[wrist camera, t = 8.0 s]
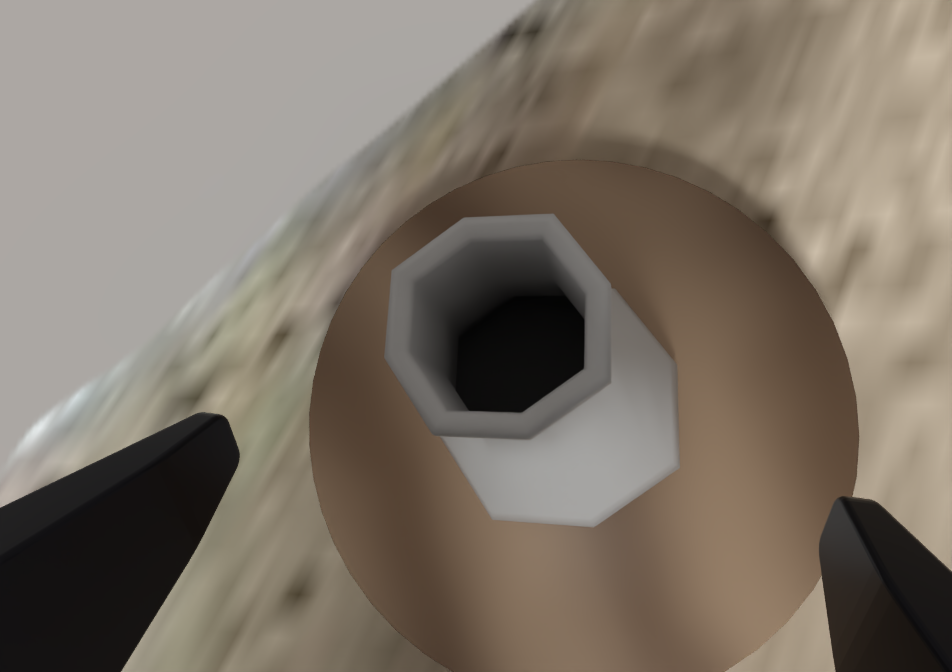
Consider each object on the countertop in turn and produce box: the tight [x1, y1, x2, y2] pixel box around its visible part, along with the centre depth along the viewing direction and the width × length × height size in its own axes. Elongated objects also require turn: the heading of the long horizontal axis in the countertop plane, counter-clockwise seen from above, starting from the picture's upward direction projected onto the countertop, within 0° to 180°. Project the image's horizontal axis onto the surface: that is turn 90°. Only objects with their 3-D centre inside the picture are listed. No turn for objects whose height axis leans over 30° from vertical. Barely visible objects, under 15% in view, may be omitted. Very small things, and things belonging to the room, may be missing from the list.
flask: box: [384, 214, 680, 527], centre depth 12 cm, size 7×7×10 cm
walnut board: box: [309, 160, 859, 672], centre depth 18 cm, size 16×16×1 cm
